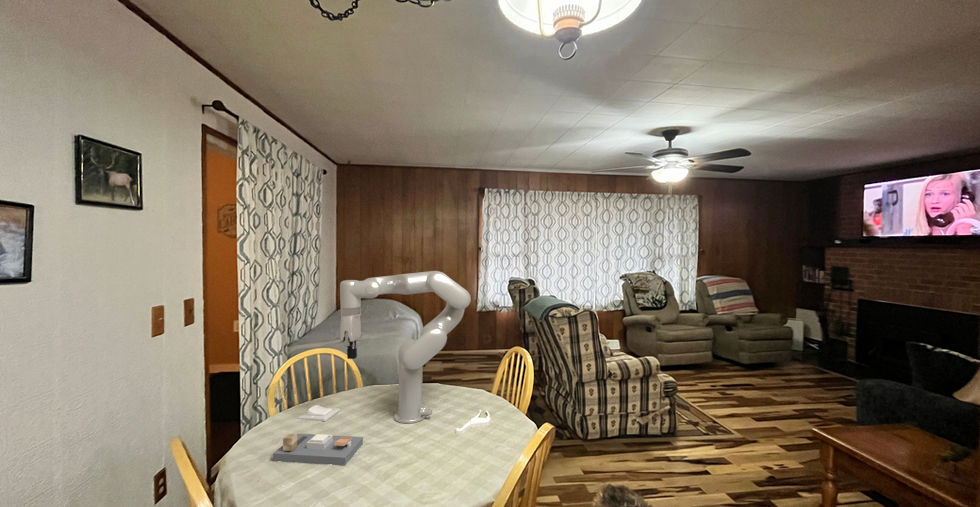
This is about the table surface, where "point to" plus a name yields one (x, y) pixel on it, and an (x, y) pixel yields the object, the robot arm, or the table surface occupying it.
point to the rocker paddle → (343, 441)
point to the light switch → (319, 413)
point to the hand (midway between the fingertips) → (352, 358)
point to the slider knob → (290, 442)
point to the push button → (320, 438)
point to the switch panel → (319, 450)
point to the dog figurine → (474, 423)
